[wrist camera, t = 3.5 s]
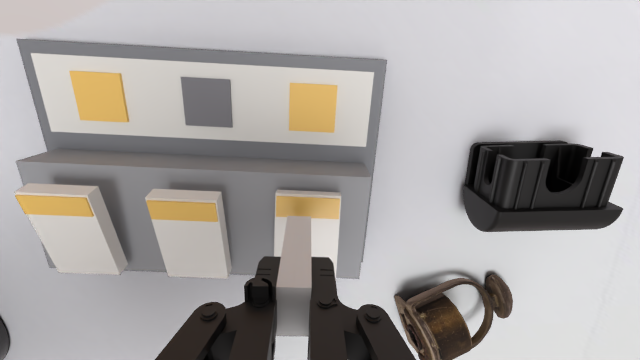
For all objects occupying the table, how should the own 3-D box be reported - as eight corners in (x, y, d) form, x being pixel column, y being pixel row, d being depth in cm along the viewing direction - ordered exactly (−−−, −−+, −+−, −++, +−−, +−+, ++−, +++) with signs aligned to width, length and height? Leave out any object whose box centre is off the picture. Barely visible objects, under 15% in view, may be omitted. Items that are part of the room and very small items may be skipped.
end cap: (455, 209, 31) (491, 245, 24) (465, 142, 28) (509, 163, 22) (551, 207, 31) (612, 242, 24) (570, 140, 28) (643, 160, 22)
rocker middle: (174, 265, 26) (167, 278, 25) (153, 188, 22) (143, 198, 21) (231, 267, 26) (227, 280, 25) (221, 191, 22) (215, 201, 21)
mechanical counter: (411, 290, 27) (398, 386, 29) (553, 305, 27) (534, 403, 28) (396, 259, 35) (387, 337, 36) (508, 271, 34) (494, 350, 35)
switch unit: (82, 245, 32) (41, 276, 27) (27, 40, 25) (-41, 32, 20) (361, 256, 32) (368, 288, 28) (384, 60, 25) (399, 58, 21)
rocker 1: (69, 262, 26) (57, 274, 24) (28, 183, 22) (11, 193, 20) (127, 264, 26) (118, 276, 25) (98, 186, 22) (85, 196, 21)
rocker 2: (275, 281, 25) (272, 290, 24) (277, 189, 23) (275, 193, 22) (334, 283, 25) (335, 292, 24) (340, 192, 24) (341, 196, 22)
